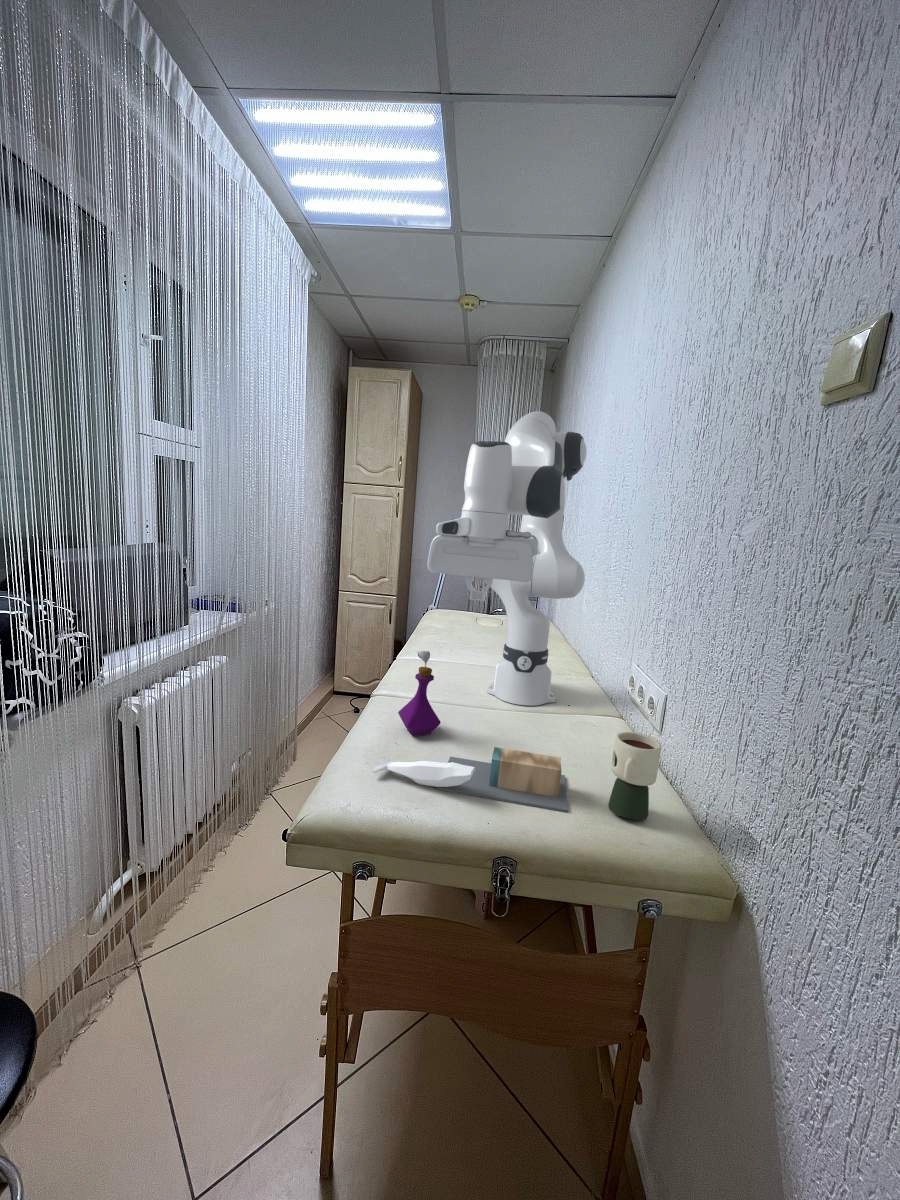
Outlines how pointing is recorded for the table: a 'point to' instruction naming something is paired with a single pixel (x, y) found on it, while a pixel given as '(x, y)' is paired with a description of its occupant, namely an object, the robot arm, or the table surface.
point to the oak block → (525, 772)
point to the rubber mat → (482, 789)
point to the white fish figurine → (429, 772)
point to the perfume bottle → (420, 704)
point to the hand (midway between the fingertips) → (477, 600)
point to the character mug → (633, 774)
